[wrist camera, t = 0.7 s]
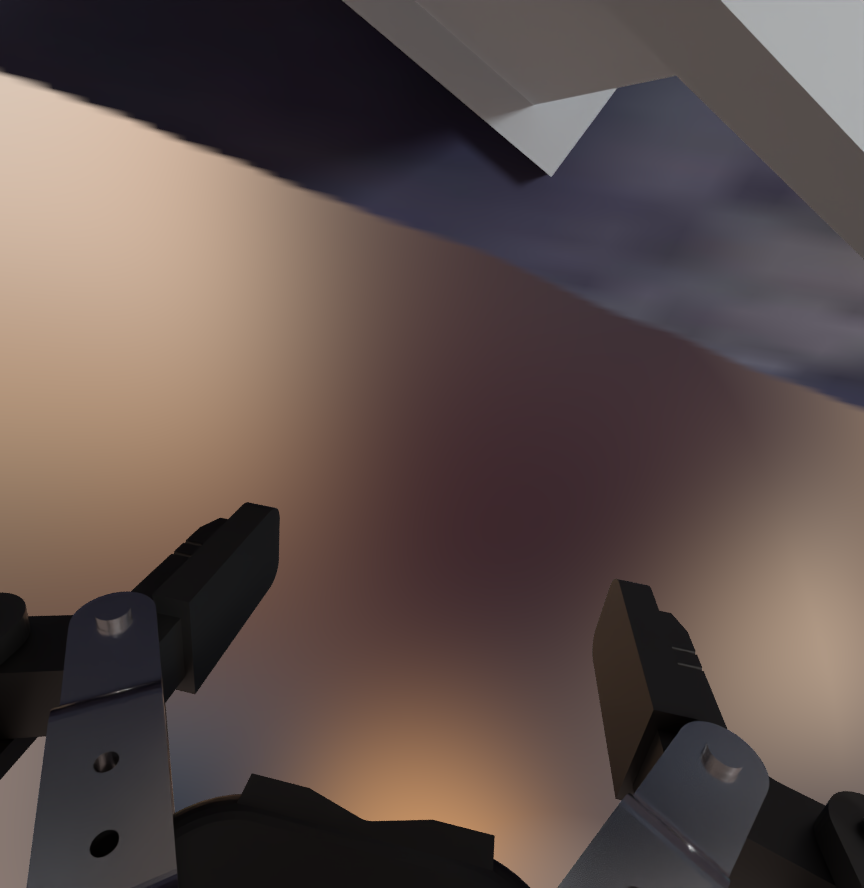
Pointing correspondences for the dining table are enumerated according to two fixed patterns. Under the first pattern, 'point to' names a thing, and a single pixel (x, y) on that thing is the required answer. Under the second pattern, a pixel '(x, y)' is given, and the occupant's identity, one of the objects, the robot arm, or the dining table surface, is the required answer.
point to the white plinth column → (658, 75)
